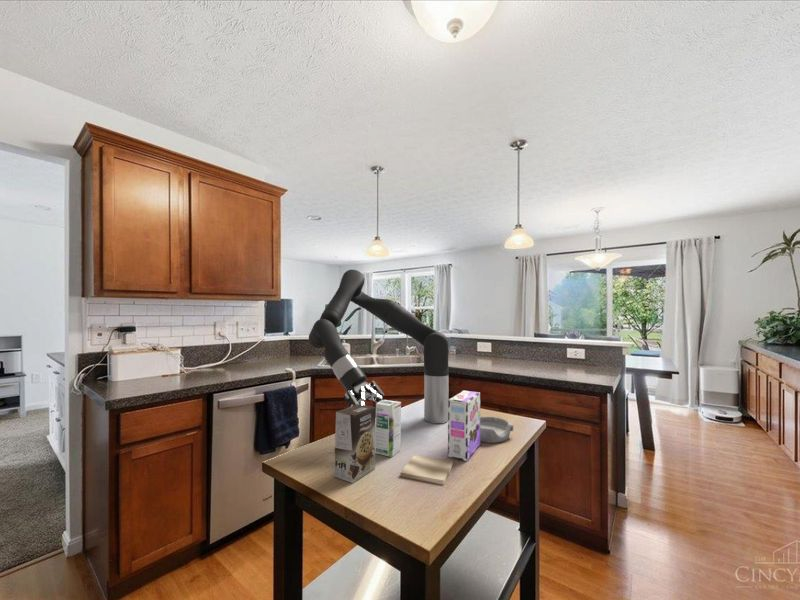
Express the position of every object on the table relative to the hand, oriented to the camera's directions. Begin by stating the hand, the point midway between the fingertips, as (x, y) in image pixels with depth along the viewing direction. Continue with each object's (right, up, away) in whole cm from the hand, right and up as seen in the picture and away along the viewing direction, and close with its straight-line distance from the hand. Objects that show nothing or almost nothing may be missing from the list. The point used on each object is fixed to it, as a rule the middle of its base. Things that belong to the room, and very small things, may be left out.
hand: (378, 415), depth 101 cm
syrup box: (+3, -10, -3) cm, 11 cm away
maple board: (+14, -9, -14) cm, 22 cm away
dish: (+36, -11, +11) cm, 39 cm away
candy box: (+26, -10, -2) cm, 28 cm away
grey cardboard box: (-5, -9, -16) cm, 19 cm away
